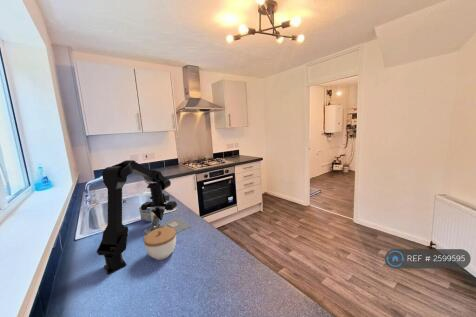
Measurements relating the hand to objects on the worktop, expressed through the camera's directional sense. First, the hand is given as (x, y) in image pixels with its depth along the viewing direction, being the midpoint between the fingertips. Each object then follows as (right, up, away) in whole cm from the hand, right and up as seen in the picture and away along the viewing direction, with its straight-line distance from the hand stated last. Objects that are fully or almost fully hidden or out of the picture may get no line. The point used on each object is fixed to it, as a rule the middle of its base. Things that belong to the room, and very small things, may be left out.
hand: (161, 220), depth 108 cm
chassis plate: (+5, -4, -4) cm, 8 cm away
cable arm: (-1, -2, -4) cm, 5 cm away
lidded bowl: (+10, -7, -24) cm, 27 cm away
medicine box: (-11, -3, +8) cm, 14 cm away
